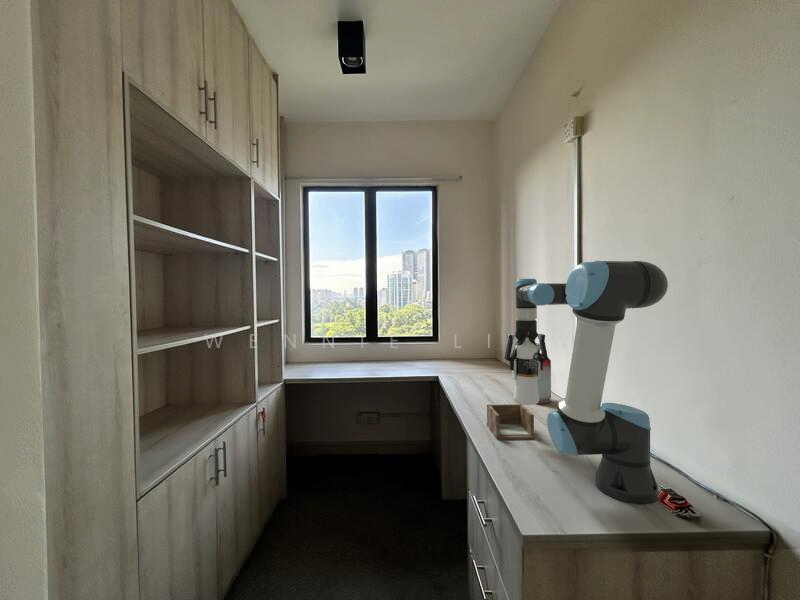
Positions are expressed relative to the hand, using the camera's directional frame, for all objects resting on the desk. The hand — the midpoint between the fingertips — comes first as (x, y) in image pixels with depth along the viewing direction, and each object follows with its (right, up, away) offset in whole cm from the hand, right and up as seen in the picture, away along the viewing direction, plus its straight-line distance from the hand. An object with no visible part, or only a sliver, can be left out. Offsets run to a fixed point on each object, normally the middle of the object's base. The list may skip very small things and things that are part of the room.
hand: (526, 378), depth 141 cm
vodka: (0, -9, 0) cm, 9 cm away
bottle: (+23, -23, +52) cm, 61 cm away
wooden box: (-4, -23, +8) cm, 25 cm away
